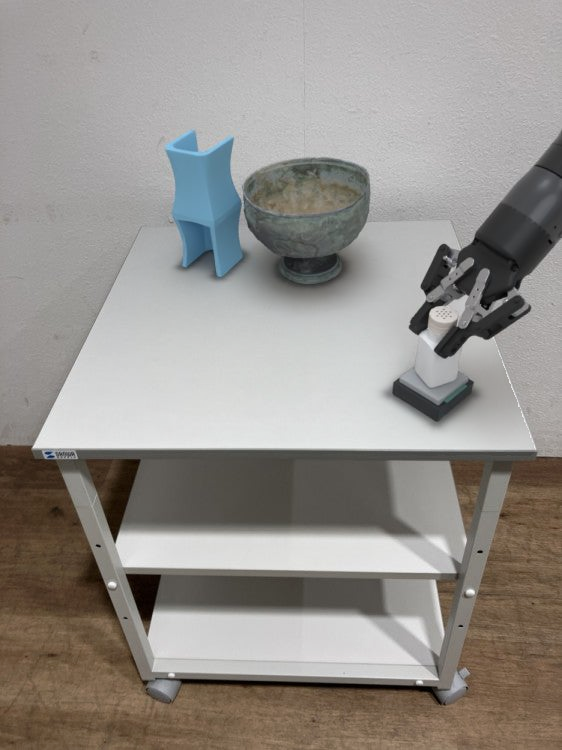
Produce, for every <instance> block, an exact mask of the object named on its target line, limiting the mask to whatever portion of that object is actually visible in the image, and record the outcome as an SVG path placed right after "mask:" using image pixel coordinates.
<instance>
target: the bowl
mask: <svg viewBox="0 0 562 750" xmlns="http://www.w3.org/2000/svg"><path fill="white" fill-rule="evenodd" d="M370 182H371V179H370V173H369V172H368V170H367V168H366V167H364V166H362V165H360V164H358V163H355V162H352V161H349V160H345V159H340V158H335V157H328V156H327V157H324V156H323V157H315V156H313V157H311V156H310V157H306V156H305V157H304V156H303V157H295V158H287V159H282V160H279V161H275V162H272V163H269V164H265V165H264V166H261V167H259V168H257V169H256V170H254V171H253V172H251V173H249V174H248V175H247V177H246V178H245V179H244V180H243V182H242V186H241V190H242V200H243V201H242V202H243V214H244V218H245V220H246V225H247V228H248V229H249V231H250V232H251V234H252V235H253V236H254V238H256V240H257V241H259V242H260V243H261V244H262V245H263V246H264V247H265V248H267V250H269V251H270V252H272V253H273V254H275V255H277V256H281V258H280V260H279V271H280V274H281V275H282V276H283V277H285V278H286V279H287V280H289V281H291V282H294V283H296V284H302V285H315V284H321V283H325V282H328V281H330V280H333V279H334V278H335V277H337V276H338V275H339V274H340V273H341V271H342V269H343V265H342V263H343V262H342V259H341V257H340V256H339V254H338V252H340V251H342V250H344V249H345V248H347V247H348V246H350V245H351V244H352V243H353V242H354V241H355V240H356V239H357V238H358V237H359V235H360V233H361V232H362V231H363V229H364V227H365V226H366V224H367V221H368V217H369V213H370V204H371V183H370Z"/></svg>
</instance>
